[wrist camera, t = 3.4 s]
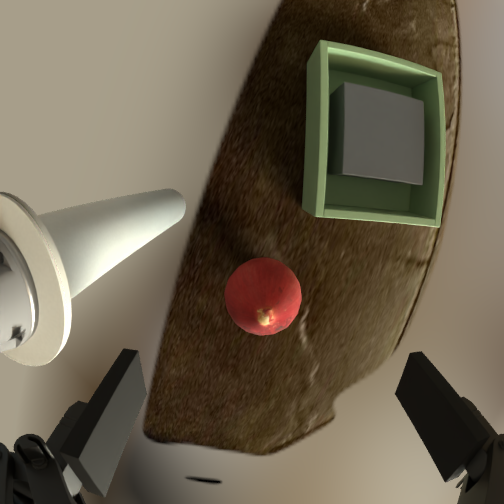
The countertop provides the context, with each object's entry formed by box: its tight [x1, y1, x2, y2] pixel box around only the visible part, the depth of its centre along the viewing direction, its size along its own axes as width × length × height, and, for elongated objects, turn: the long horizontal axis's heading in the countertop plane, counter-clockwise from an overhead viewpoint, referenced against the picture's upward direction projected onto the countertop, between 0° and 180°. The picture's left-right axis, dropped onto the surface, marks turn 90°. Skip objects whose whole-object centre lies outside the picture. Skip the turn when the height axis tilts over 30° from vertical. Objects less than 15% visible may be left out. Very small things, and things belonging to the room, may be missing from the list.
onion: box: [225, 257, 302, 335], centre depth 22 cm, size 6×6×8 cm
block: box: [328, 82, 424, 185], centre depth 20 cm, size 7×7×4 cm
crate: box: [302, 40, 445, 227], centre depth 20 cm, size 11×13×5 cm
